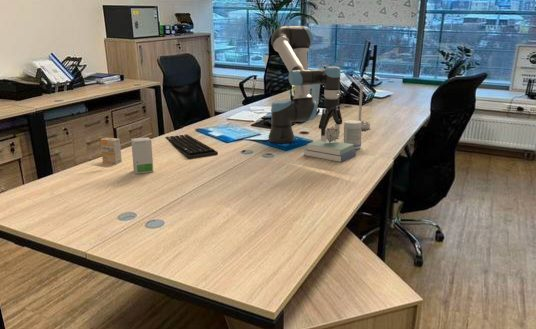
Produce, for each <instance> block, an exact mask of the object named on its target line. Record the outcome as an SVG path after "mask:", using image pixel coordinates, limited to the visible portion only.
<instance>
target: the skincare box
mask: <svg viewBox="0 0 536 329" xmlns="http://www.w3.org/2000/svg"><path fill="white" fill-rule="evenodd" d="M130 140H131V141H130V142H131V153H132V166H133V168H132V169H133V172H134V173H135V174H136V175H138V174H148V173H154V163H153V162H154V161H153V160H154V159H153V158H154V157H153V147H152V145H153V144H152V139H151V138H150V137H136V138H131V139H130Z"/></svg>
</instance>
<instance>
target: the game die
mask: <svg viewBox="0 0 536 329" xmlns="http://www.w3.org/2000/svg"><path fill="white" fill-rule="evenodd" d="M326 129H327V133H326V140H328V141H329V143H330V142H331V141H336V142H337V140H339V137H338V131H337V129H335V128H334V125H332V126H331V127H326ZM340 133H341V131H340V132H339V134H340Z"/></svg>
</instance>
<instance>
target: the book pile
mask: <svg viewBox="0 0 536 329" xmlns="http://www.w3.org/2000/svg"><path fill="white" fill-rule="evenodd" d="M356 151H357V149H354V144H349V143H344V141H342V142H341V141H337V140H336V141H331V142H330V143H329V141H328V140H327V139H326V142H322V141H321V138H320V139H317V140H314V141H311V142H309V143H306V148H305V149H304V151H303V152H304V154H303V155H304V156H307V157H312V158H317V159H322V160H328V161H334V162H340V163H342V162H345V161H347V160H349V159H351V158H353V157H356V154H357V152H356Z"/></svg>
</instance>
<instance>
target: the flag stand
mask: <svg viewBox="0 0 536 329" xmlns="http://www.w3.org/2000/svg"><path fill="white" fill-rule="evenodd" d="M364 87H365V85H364V84H362V83H361V84H359V86H358V88H359V105H358V121H361V124H362V131H364V130H368V129H369V128H371V122H369V121H364V120H362V110H363V109H362V108H363V105H362V104H363V91H364V90H363V89H364Z"/></svg>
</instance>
